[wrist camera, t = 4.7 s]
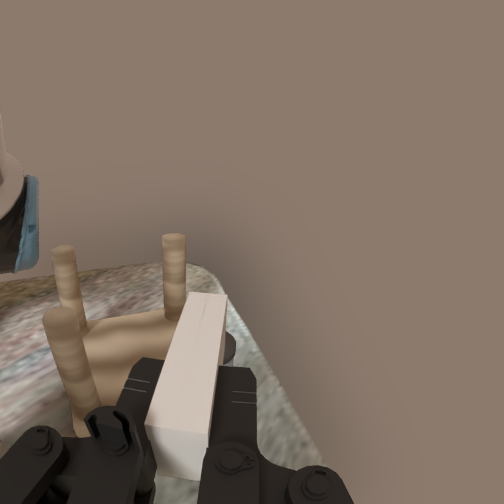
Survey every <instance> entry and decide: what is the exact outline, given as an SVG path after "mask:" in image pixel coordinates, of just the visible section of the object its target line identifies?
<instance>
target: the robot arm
mask: <svg viewBox="0 0 504 504" xmlns="http://www.w3.org/2000/svg"><path fill="white" fill-rule="evenodd" d="M38 258H39V181H38V178H37V177H35V176H30V175H26V176H25V177H24V175H23V170H22V167H21V165H20V163H19V162H18V161H17V160H16V159H15V158H14V157H13V156H11V155H10V154H7V153H6V147H5V142H4V134H3V127H2V120H1V112H0V274H3V273H10V272H12V273H16V272H17V271H21V270H25V269H30V268H33V267H34V266H35V265H36V264H37V262H38ZM226 312H227V295H222V294H211V293H200V292H189V295H188V297H187V300H186V303H185V305H184V308H183V311H182V314H181V316H180V319H179V322H178V325H177V328H176V330H175V333H174V336H173V339H172V342H171V345H170V348H169V350H168V353H167V356H166V359H165V360H160V359H154V358H147V357H142V358H141V359H140V360H139V361H138V362H137V363H135V364H134V365H133V366H132V369H131V371H130V373H129V375H128V379H127V380H126V382H125V384H124V389H122V391H121V394H120V396H119V398H118V401H117V403H116V406H107V405H106V406H101V407H97V408H95V409H93V410H92V411H90V412H88V414H87V415H86V416H85V418H84V419H83V420H84V422H85V424H86V427H87V429H88V431H89V433H90V435H91V436H90V437H83V438H72V437H61V435H60V434H59V433H58V432H57V431H56V430H55V429H53V428H51V427H48V426H35V427H32V428H30V429H29V430H27V431H26V432H25V433H24V434H23V435H22V436H21V437H20V438H19V439H18V440H17V441H16V442H15V443H14V445H13V446H12V447H11V448H10V449H9V450H8V451H7V452H6V453H5V454H4V456H3V457H2V458H1V459H0V504H153V501H154V496H155V483H154V477H155V473H156V469H157V471H158V474H159V475H162V476H168V477H174V478H180V479H187V480H195V481H200V486H199V493H198V501H197V504H354V503H353V501H352V499H351V497H350V495H349V493H348V491H347V489H346V487H345V485H344V483H343V481H342V479H341V478H340V477H339V476H338V474H337V473H336V472H334V471H332V470H331V469H329V468H327V467H323V466H318V465H316V466H306V467H304V468H302V469H299V470H298V471H295V470H292V469H288V468H284V467H281V466H278V465H275V464H273V463H271V462H269V461H268V460H267V459H265V458H264V457H263V455H262V454H261V453H260V451H259V449H258V446H257V405H256V402H257V399H256V378H255V376H254V374H253V373H252V371H251V369H250V368H244V367H231V366H223V358H224V350H225V331H226Z"/></svg>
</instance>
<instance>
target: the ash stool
mask: <svg viewBox="0 0 504 504" xmlns="http://www.w3.org/2000/svg"><path fill="white" fill-rule="evenodd" d="M51 257H52V263H53V269H54V275H55V280H56V286H57V291H58V296H59V300H60V305H61V307H56V308H53V309H50V310H49V311H47V312H46V313H45V314H44V315H43V317H42V322H43V325H44V329H45V332H46V335H47V339H48V342H49V345H50V348H51V351H52V354H53V357H54V360H55V363H56V366H57V368H58V371H59V374H60V377H61V379H62V382H63V384H64V387H65V389H66V392H67V394H68V397H69V400H70V408H71V415H72V421H73V427H74V430H75V432H76V434H77V436H78V438H83V437H90V436H91V435H90V433H89V431H88V429H87V427H86V424H85V422H84V420H83V419H84V418H85V416H86V415H87V414H88V412H90V411H92V410H93V409H95V408H97V407H101V406H106V405H107V406H116V403H117V401H118V398H119V396H120V394H121V391H122V389H124V384H125V382H126V380H127V379H128V375H129V373H130V371H131V369H132V366H133V365H134V364H135V363H137V362H138V361H139V360H140V359H141V358H142V357H147V358H154V359H160V360H165V359H166V356H167V353H168V350H169V348H170V345H171V342H172V339H173V336H174V333H175V330H176V328H177V325H178V322H179V319H180V316H181V314H182V311H183V308H184V305H185V303H186V236H185V235H183V234H179V233H169V234H165V235H163V236H162V265H163V293H164V309H161V310H155V311H149V312H143V313H137V314H131V315H125V316H118V317H112V318H106V319H99V320H92V321H86V317H85V312H84V307H83V302H82V296H81V291H80V285H79V278H78V272H77V265H76V257H75V250H74V247H73V246H70V245H62V246H58V247H55V248H53V249H52V250H51Z"/></svg>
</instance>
